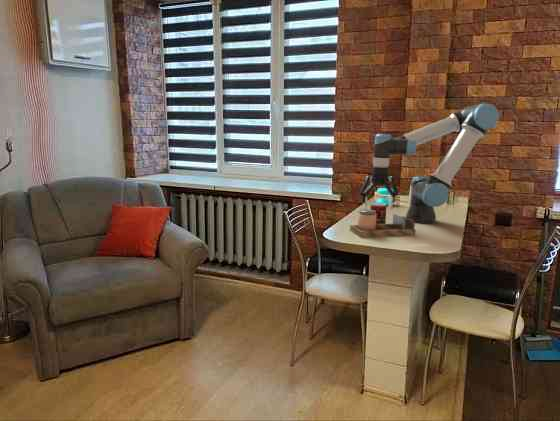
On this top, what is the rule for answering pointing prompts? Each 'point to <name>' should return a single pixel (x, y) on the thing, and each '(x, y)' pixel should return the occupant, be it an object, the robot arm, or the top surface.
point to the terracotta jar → (367, 220)
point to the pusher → (399, 222)
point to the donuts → (383, 192)
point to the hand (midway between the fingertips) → (377, 209)
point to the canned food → (379, 212)
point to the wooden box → (385, 230)
